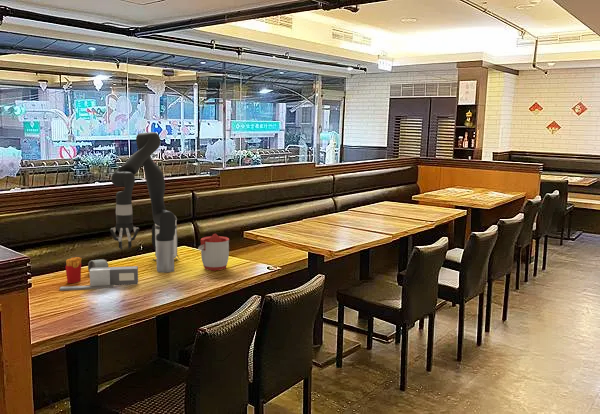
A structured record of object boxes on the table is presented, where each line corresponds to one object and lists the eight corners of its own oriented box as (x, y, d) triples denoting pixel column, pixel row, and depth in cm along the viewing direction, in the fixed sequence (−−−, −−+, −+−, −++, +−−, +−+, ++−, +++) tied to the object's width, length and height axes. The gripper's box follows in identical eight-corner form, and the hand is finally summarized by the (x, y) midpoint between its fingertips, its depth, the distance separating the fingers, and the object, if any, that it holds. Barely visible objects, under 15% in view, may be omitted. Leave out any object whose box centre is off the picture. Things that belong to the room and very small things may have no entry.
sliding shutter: (110, 284, 260) (109, 269, 259) (109, 285, 259) (109, 269, 258) (90, 285, 258) (89, 269, 257) (90, 286, 257) (89, 270, 256)
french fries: (70, 284, 264) (69, 260, 262) (64, 282, 266) (63, 259, 264) (84, 280, 271) (83, 256, 270) (78, 278, 273) (77, 255, 271)
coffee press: (181, 256, 324) (180, 207, 320) (177, 263, 308) (176, 211, 304) (152, 256, 323) (151, 207, 319) (146, 263, 307) (145, 211, 303)
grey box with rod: (138, 281, 270) (137, 266, 269) (136, 287, 261) (136, 271, 260) (63, 284, 262) (63, 269, 261) (59, 290, 253) (58, 274, 252)
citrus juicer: (193, 267, 299) (193, 232, 296) (221, 263, 309) (221, 229, 306) (204, 274, 286) (204, 237, 284) (234, 270, 296) (234, 234, 293)
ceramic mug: (109, 273, 285) (109, 259, 284) (95, 276, 278) (95, 261, 277) (98, 270, 291) (97, 256, 290) (84, 273, 285) (83, 258, 284)
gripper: (140, 211, 261) (140, 246, 263) (109, 212, 258) (110, 247, 260) (139, 214, 254) (139, 250, 256) (107, 214, 250) (108, 251, 253)
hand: (125, 248), depth 258 cm, fingers open, 3 cm apart
